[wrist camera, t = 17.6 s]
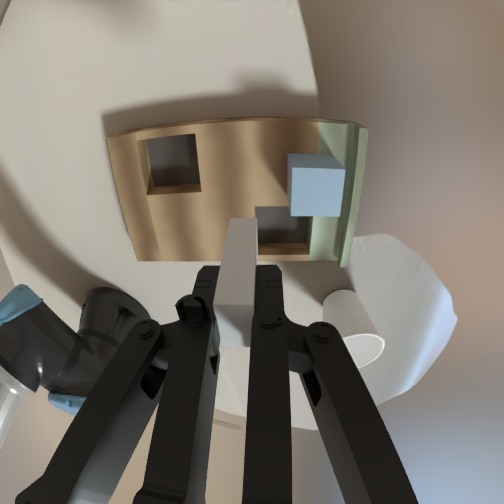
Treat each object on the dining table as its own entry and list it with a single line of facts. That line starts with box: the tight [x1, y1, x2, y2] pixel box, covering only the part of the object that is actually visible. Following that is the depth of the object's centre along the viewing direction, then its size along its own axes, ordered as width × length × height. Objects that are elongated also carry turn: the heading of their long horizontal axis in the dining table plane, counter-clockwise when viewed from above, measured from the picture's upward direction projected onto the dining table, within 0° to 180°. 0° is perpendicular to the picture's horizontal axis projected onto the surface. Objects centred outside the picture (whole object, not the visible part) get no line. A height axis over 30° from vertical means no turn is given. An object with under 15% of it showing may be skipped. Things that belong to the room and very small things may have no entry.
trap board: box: [107, 117, 368, 268], centre depth 32 cm, size 29×18×4 cm, turn 92°
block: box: [287, 153, 345, 217], centre depth 27 cm, size 5×5×5 cm
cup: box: [323, 290, 385, 368], centre depth 40 cm, size 10×10×11 cm
